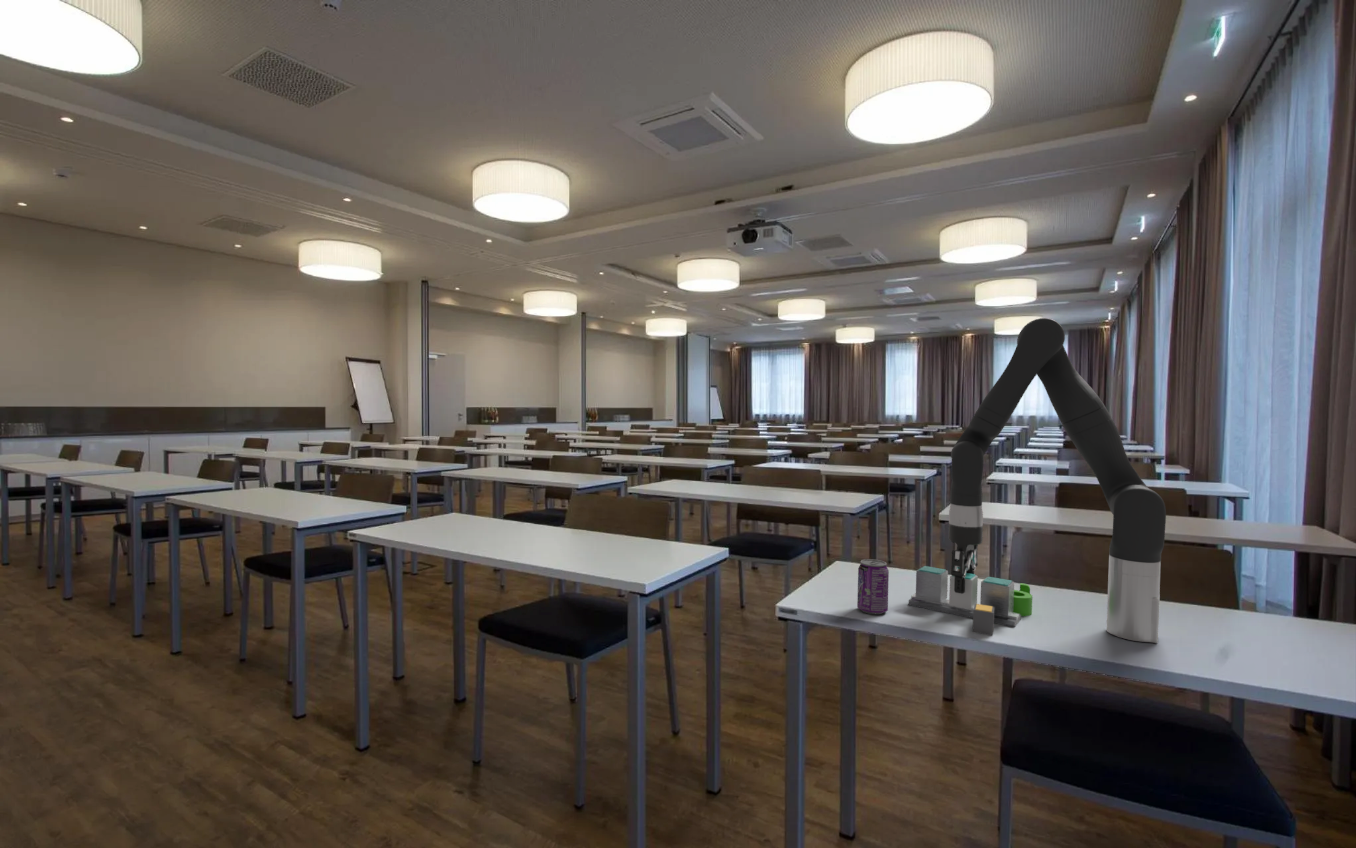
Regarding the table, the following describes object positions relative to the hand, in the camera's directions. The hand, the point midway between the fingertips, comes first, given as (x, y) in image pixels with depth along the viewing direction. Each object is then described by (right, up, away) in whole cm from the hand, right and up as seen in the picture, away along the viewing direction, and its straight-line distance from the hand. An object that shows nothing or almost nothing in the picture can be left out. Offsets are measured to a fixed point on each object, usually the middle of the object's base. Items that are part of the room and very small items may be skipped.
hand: (964, 589), depth 152 cm
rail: (0, -6, 0) cm, 6 cm away
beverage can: (-23, -6, 0) cm, 23 cm away
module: (0, -4, 0) cm, 4 cm away
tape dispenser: (+15, -6, +5) cm, 17 cm away
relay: (-1, -6, -12) cm, 14 cm away
